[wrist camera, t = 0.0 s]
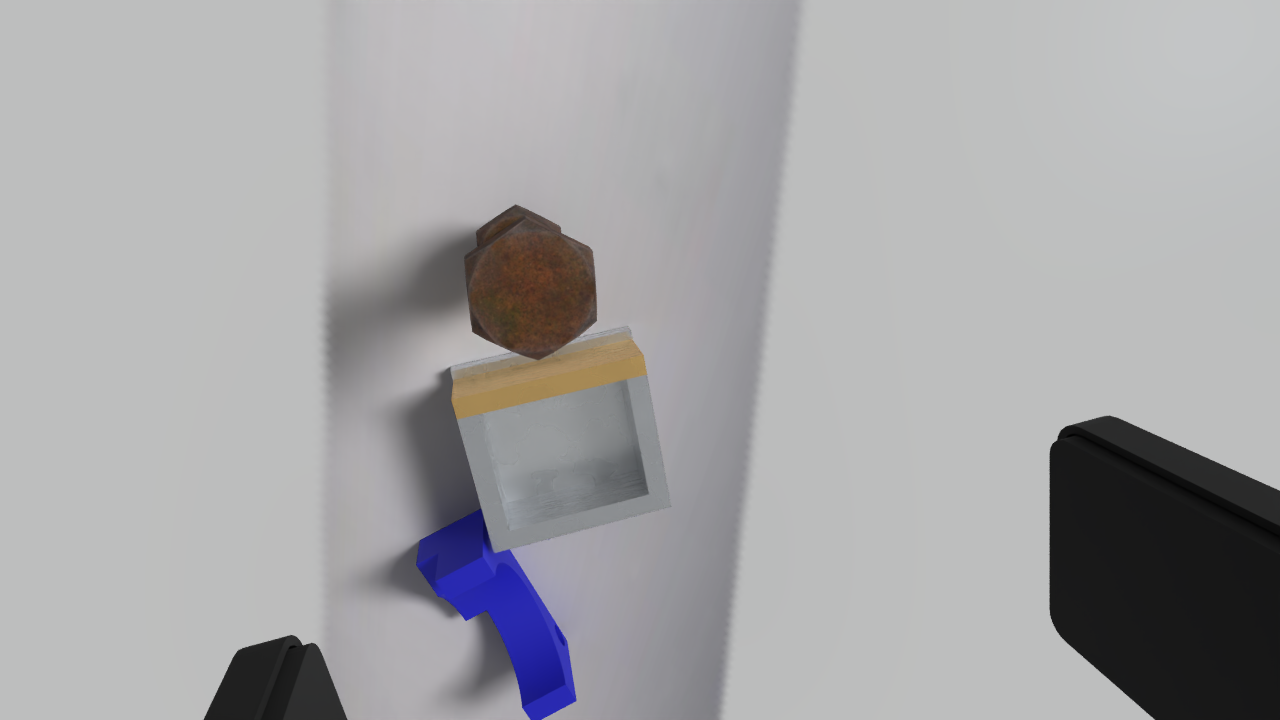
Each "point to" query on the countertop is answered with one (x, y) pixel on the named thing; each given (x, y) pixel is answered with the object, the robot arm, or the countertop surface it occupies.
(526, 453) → the shallow open tray
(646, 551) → the countertop surface
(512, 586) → the cable clip
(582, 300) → the bolt
